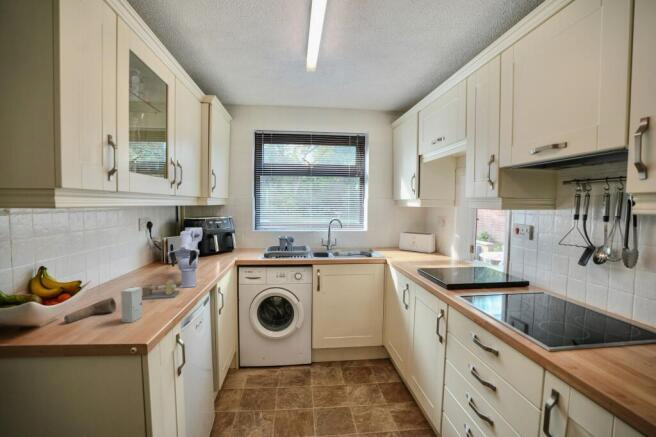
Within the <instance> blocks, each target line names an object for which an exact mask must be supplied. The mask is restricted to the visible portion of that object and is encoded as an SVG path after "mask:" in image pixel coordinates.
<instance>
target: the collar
mask: <svg viewBox="0 0 656 437" xmlns="http://www.w3.org/2000/svg"><path fill="white" fill-rule="evenodd" d="M175 281H176V280H175V279H172V278H171V279H168V280H167V281H166V282H165V285H166V289H165V291H166V295H169V294H172V293H173V292H174V291H176V290H175V289H176V288H174V289H172V285H176V284H175Z"/></svg>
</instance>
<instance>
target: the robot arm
mask: <svg viewBox="0 0 656 437" xmlns="http://www.w3.org/2000/svg"><path fill="white" fill-rule="evenodd" d="M179 236H180V238H179V246H178V248H177V249H174V250H171V251H167V258H170V261H171V266H172V268H174V267H175V263H176V261H177V269H178V270H179V271H180V277H181V278H180V282H181V283H180V286H178V287H179V288H180V289H181V288H193V287H194V288H195V287H196V286H197V284H198V283H199V282H198V281H197V273H196V269H198V268H199V257H198V256H199V255H200V249H197V247H198V243H199V242H202V239H203V227H201V226H200V227H185V228H184V230H183V231H180V235H179ZM177 257H178V259H177Z"/></svg>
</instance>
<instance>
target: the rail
mask: <svg viewBox="0 0 656 437" xmlns="http://www.w3.org/2000/svg"><path fill="white" fill-rule="evenodd" d="M174 288H175V289H177V284H175V285H172V289H174ZM154 290H155V291H154ZM158 290H164V291H158ZM179 293H180V290H175V291H174V292H173V293H172V294H169V295H166V284H165V285H152V284H146V285H144V286H143V287H142V301H146V300H160V299H161V300H163V299H173V298H174V299H175V298H176V297H177V296H178V295H179Z"/></svg>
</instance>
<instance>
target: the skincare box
mask: <svg viewBox="0 0 656 437" xmlns="http://www.w3.org/2000/svg"><path fill="white" fill-rule="evenodd" d="M142 296H143V291H142V287H141V286H138V287H137V286H135V287H134V286H133V287H129V288H126V289H123V290H121V291H120V300H121V305H120V306H121V322H122V323H133V322H135V321H137V320H139V319H141V318H143V300H142Z"/></svg>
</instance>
